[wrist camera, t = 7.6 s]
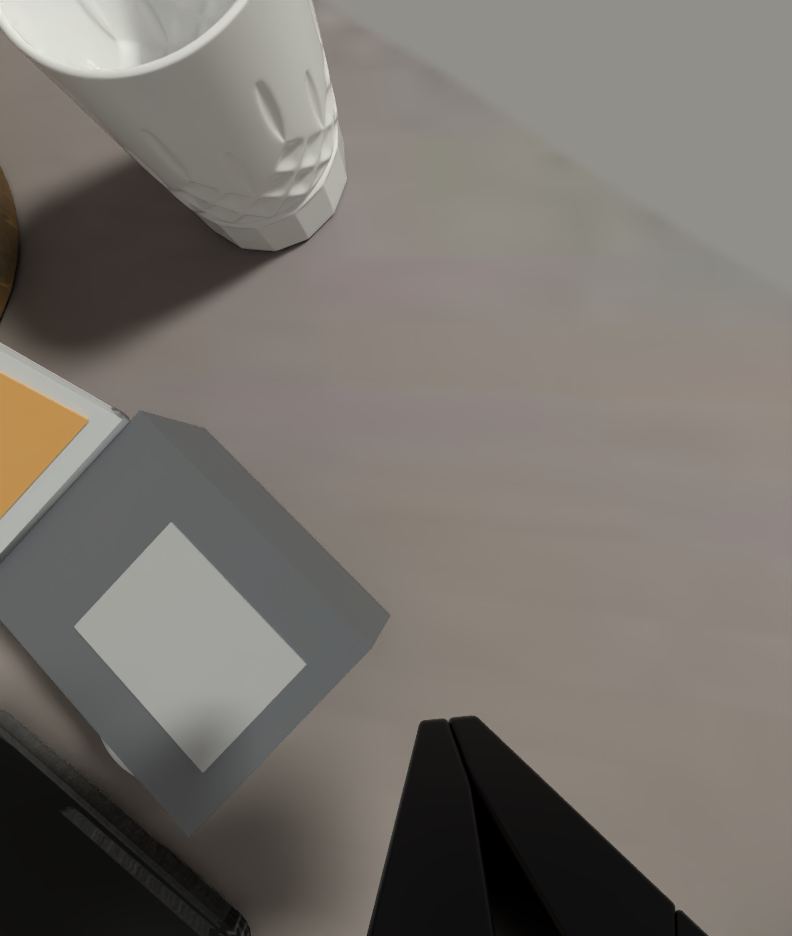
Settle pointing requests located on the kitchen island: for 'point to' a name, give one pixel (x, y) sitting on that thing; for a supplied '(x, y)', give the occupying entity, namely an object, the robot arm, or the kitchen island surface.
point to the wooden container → (7, 241)
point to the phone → (88, 858)
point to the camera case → (183, 613)
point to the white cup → (204, 102)
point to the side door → (44, 441)
